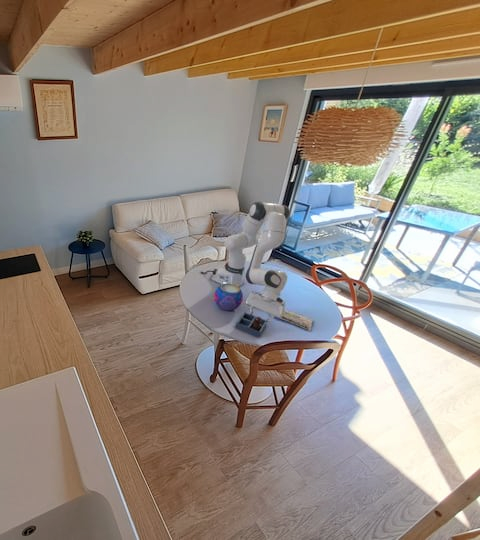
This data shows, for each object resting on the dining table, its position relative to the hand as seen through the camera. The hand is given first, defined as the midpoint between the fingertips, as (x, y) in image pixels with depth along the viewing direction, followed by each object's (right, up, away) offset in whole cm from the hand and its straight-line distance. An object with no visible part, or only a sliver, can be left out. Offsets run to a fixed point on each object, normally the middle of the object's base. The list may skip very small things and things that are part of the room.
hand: (258, 317), depth 164 cm
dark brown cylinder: (-1, -8, +2) cm, 8 cm away
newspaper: (+26, -3, +12) cm, 29 cm away
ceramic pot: (-10, +3, +24) cm, 26 cm away
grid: (-2, -6, +6) cm, 9 cm away
